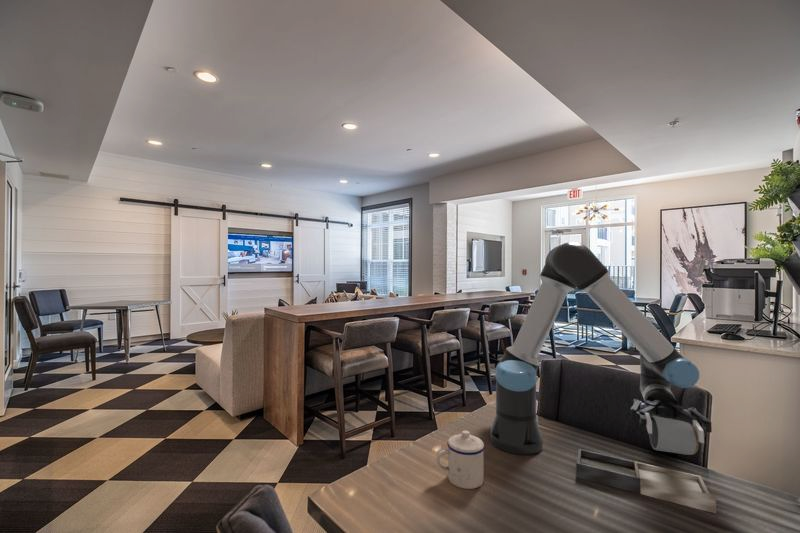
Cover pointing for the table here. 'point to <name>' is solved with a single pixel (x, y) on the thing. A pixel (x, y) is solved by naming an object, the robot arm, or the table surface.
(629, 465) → the box
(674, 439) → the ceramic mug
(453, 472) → the teacup with lid
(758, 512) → the table surface
